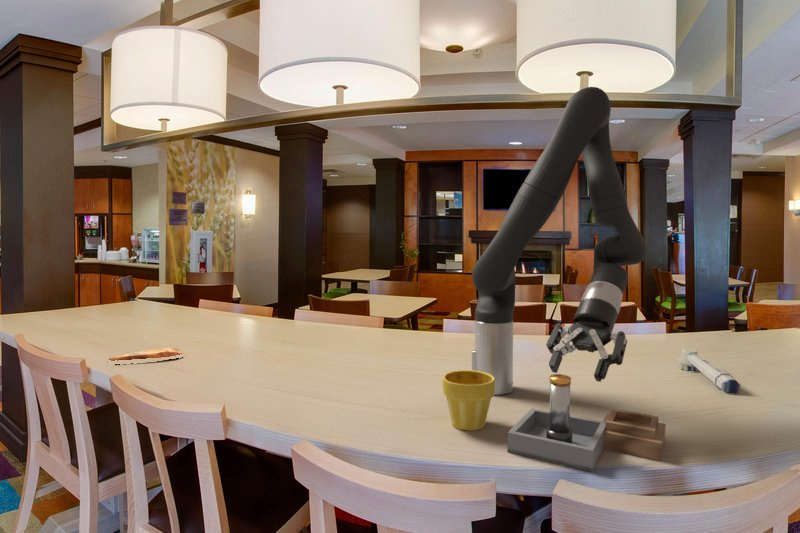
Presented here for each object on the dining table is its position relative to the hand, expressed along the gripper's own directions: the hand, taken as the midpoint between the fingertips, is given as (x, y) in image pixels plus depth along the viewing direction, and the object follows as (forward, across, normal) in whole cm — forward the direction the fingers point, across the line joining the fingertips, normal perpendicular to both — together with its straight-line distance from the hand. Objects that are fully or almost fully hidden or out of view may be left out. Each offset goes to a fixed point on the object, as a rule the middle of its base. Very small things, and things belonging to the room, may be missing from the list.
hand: (574, 374), depth 91 cm
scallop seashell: (+33, -124, -15) cm, 129 cm away
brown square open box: (+6, +10, +10) cm, 15 cm away
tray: (+13, 0, +3) cm, 13 cm away
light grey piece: (-33, +11, +49) cm, 60 cm away
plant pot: (+15, -18, +2) cm, 23 cm away
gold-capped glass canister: (+13, 0, +3) cm, 13 cm away
